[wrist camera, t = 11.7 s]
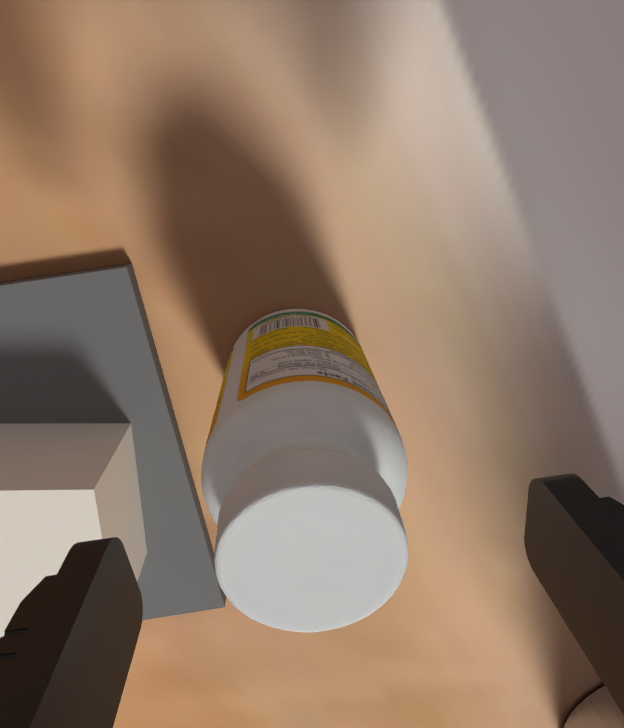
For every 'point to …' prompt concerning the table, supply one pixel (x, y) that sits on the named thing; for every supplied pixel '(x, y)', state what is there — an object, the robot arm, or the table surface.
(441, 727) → the table surface
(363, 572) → the supplement bottle
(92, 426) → the riser block
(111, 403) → the mat
